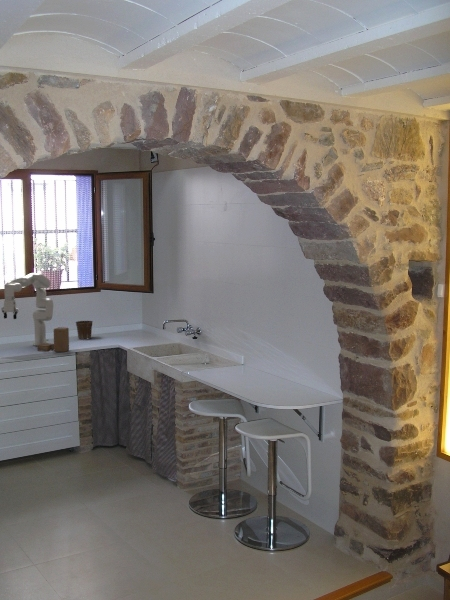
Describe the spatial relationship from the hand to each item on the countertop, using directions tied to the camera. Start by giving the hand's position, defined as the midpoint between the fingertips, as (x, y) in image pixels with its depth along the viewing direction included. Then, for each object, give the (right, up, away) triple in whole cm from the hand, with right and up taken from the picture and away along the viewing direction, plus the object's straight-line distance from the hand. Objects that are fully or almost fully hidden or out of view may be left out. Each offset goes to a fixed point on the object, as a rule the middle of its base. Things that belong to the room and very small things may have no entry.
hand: (10, 318), depth 566 cm
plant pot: (+47, -21, +76) cm, 92 cm away
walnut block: (+25, -28, +18) cm, 42 cm away
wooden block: (+40, -28, +13) cm, 51 cm away
